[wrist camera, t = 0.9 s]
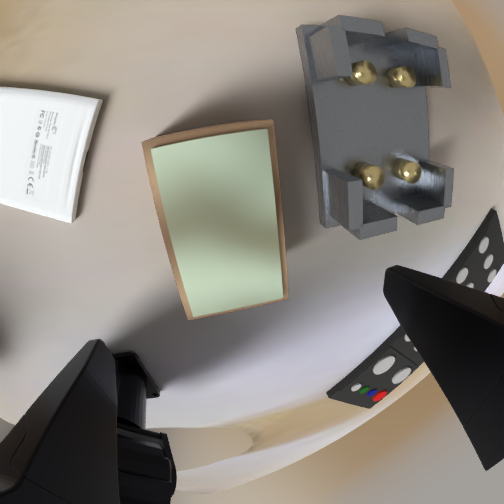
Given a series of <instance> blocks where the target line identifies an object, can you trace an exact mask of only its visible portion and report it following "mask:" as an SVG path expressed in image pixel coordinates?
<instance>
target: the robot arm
mask: <svg viewBox="0 0 504 504" xmlns="http://www.w3.org/2000/svg"><path fill="white" fill-rule="evenodd" d="M383 292H384V296H385V298H386V300H387V301H388V303H389V305H390V307H391V308H392V310H393V312H394V314H395V316H396V317H397V319H398V321H399V323H400V325H401V326H402V328H403V330H404V332H405V333H406V335H407V336H408V338H409V339H410V341H411V342H412V344H413V345H414V347H415V348H416V350H417V351H418V353H419V354H420V356H421V357H422V359H423V360H424V362H425V363H426V365H427V367H428V368H429V370H430V371H431V373H432V374H433V376H434V378H435V379H436V381H437V383H438V384H439V386H440V387H441V389H442V391H443V392H444V394H445V396H446V397H447V399H448V401H449V403H450V404H451V406H452V408H453V409H454V411H455V413H456V415H457V417H458V418H459V420H460V422H461V423H462V425H463V428H464V429H465V431H466V433H467V435H468V437H469V439H470V441H471V443H472V445H473V447H474V448H475V450H476V453H477V455H478V457H479V459H480V461H481V463H482V465H483V467H484V469H485V470H486V471H487V470H489V469H490V468H491V467H493V466H494V465H495V464H497V463H498V462H500V461H501V460H502V459H503V458H504V298H501V297H498V296H495V295H492V294H488V293H486V292H483V291H480V290H477V289H474V288H471V287H467V286H464V285H461V284H458V283H455V282H452V281H448V280H445V279H442V278H439V277H436V276H432V275H429V274H426V273H422V272H419V271H416V270H413V269H409V268H406V267H402V266H399V265H395V266H392V267H389V268H387V269H386V271H385V278H384V287H383ZM130 357H131V358H130ZM159 396H160V391H159V389H158V388H157V387H156V385H155V383H154V382H153V380H152V379H151V377H150V376H149V374H148V373H147V371H146V369H145V368H144V366H143V365H142V363H141V361H140V360H139V358H138V356H137V355H136V354H135V353H132V352H129V353H122V354H116V355H112V354H111V353H110V351H109V350H108V348H107V347H106V345H105V343H104V342H103V341H102V340H101V339H95V340H90V341H88V342H87V343H86V344H85V345H84V346H83V348H82V349H81V350H80V351H79V352H78V353H77V354H76V355H75V356H74V357H73V358H72V360H71V361H70V362H69V363H68V364H67V365H66V366H65V367H64V368H63V370H62V371H61V372H60V373H59V374H58V375H57V376H56V378H55V379H54V380H53V381H52V382H51V383H50V384H49V386H48V387H47V388H46V389H45V390H44V391H43V393H42V394H41V395H40V396H39V397H38V398H37V400H36V401H35V402H34V403H33V404H32V406H31V407H30V408H29V409H28V410H27V412H26V413H25V415H23V417H22V418H21V419H20V420H19V422H18V423H17V424H16V425H15V426H14V428H13V429H12V430H11V431H10V433H9V434H8V435H7V436H6V437H5V438H4V439H3V440H2V441H1V443H0V504H170V500H171V497H172V495H173V494H174V491H175V488H176V481H177V475H176V468H175V464H174V461H173V457H172V453H171V449H170V445H169V441H168V437H167V434H165V433H161V432H160V433H157V432H153V431H149V430H145V422H146V399H148V398H156V397H159Z"/></svg>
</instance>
